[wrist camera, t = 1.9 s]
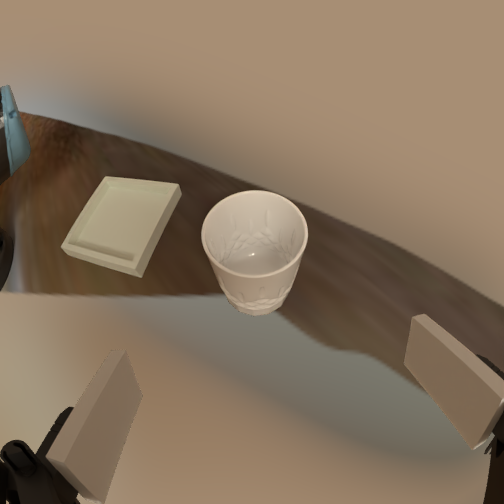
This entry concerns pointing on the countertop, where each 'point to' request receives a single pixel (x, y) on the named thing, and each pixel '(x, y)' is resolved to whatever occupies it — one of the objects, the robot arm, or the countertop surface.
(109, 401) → the robot arm
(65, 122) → the countertop surface
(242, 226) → the white cup
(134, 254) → the coaster tray
